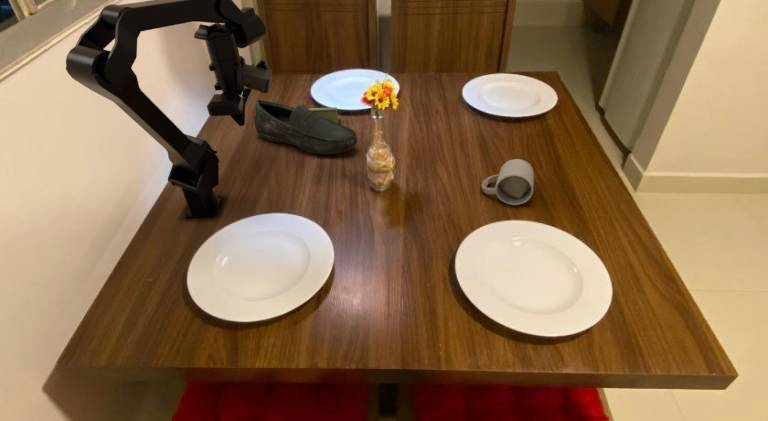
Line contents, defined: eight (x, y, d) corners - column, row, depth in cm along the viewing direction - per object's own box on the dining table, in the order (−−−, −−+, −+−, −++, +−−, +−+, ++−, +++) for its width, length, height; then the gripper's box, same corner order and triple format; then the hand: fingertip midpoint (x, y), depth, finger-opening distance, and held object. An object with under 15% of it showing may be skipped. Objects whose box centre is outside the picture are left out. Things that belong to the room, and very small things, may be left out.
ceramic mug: (531, 185, 99) (537, 157, 95) (529, 208, 94) (536, 178, 89) (483, 178, 102) (487, 150, 97) (478, 200, 96) (482, 171, 91)
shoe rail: (337, 124, 122) (336, 109, 119) (272, 127, 121) (269, 112, 118) (338, 120, 124) (336, 105, 121) (273, 122, 123) (270, 107, 120)
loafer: (349, 163, 107) (346, 126, 101) (246, 144, 115) (237, 108, 108) (364, 142, 115) (362, 106, 108) (267, 125, 122) (259, 90, 116)
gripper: (257, 73, 82) (272, 146, 92) (271, 38, 96) (283, 104, 106) (196, 75, 81) (218, 148, 91) (220, 40, 96) (236, 106, 106)
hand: (242, 125), depth 99 cm, fingers closed
